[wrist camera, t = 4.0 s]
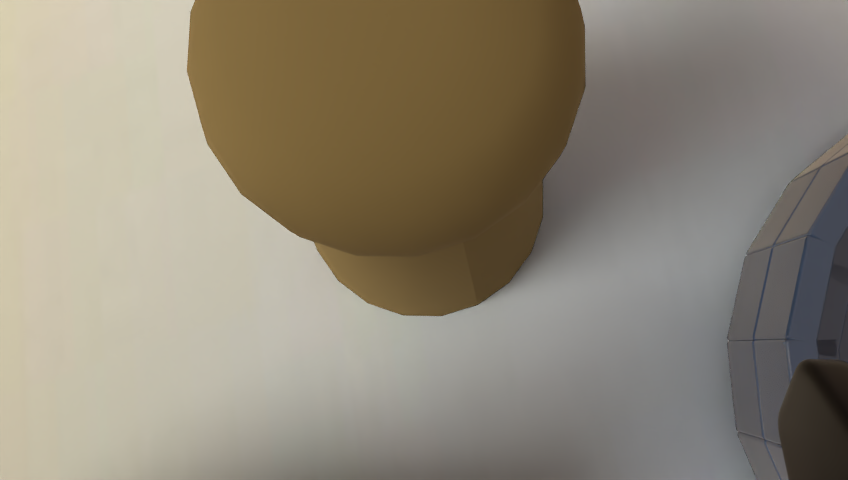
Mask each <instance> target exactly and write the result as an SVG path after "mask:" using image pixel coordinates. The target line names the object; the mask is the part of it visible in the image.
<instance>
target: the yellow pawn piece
mask: <svg viewBox="0 0 848 480" xmlns="http://www.w3.org/2000/svg"><path fill="white" fill-rule="evenodd" d="M187 72H188V76H189V80H190V84H191V87H192V91H193V95H194V98H195V102H196V106H197V109H198V113H199V117H200V121H201V124H202V128H203V131H204V134H205V138H206V141H207V144H208V146H209V147H210V149H211V150H212V151H213V153H214V154H215V156H216V157H217V159H218V160H219V162H220V163H221V165H222V166H223V168H224V169H225V171H226V172H227V174H228V175H229V177H230V178H231V180H232V181H233V183H234V184H235V186H236V187H237V189H238V190H239V191H240V193H241V194H242V195H243V196H245V197H246V198H247V199H248V200H250V201H251V202H252V203H254V204H255V205H256V206H258V207H259V208H260V209H262V210H263V211H264V212H266V213H267V214H268V215H270V216H271V217H272V218H274V219H275V220H276V221H277V222H279V223H280V224H281V225H283V226H284V227H285V228H287V229H288V230H289V231H291V232H293V233H294V234H296V235H298V236H299V237H302V238H305V239H307V240H310V241H313V242H314V243H315V245H316V248H317V250H318V252H319V253H320V255H321V256H322V258H323V259H324V261H325V262H326V263H327V265H328V266H329V268H330V269H331V271H332V272H333V274H334V275H335V277H336V278H337V280H338V281H339V282H341V283H342V284H343V285H345V286H346V287H347V288H349V289H350V290H351V291H353V292H354V293H355V294H357V295H358V296H359V297H360V298H362V299H363V300H364V301H366V302H367V303H369V304H372V305H375V306H378V307H381V308H384V309H387V310H389V311H392V312H395V313H398V314H401V315H415V316H443V315H446V314H449V313H452V312H456V311H459V310H462V309H465V308H468V307H472V306H475V305H478V304H479V303H481V302H482V301H484V300H485V299H486V298H488V297H489V296H491V295H492V294H493V293H495V292H496V291H498V290H499V289H501V288H502V287H503V286H505V285H506V284H508V283H509V282H510V280H511V279H512V278H513V276H514V275H515V274H516V272H517V271H518V270H519V268H520V267H521V265H522V264H523V263H524V261H525V260H526V259H527V257H528V256H529V255H530V253H531V251H532V248H533V245H534V242H535V239H536V236H537V233H538V230H539V227H540V224H541V221H542V218H543V178H544V177H545V176H546V174H547V173H548V172H549V170H550V169H551V167H552V166H553V165H554V163H555V162H556V161H557V159H558V158H559V157H560V155H561V153H562V152H563V150H564V148H565V146H566V144H567V141H568V138H569V135H570V132H571V129H572V126H573V123H574V120H575V117H576V114H577V111H578V108H579V105H580V102H581V99H582V96H583V93H584V90H585V25H584V21H583V16H582V12H581V8H580V5H579V2H578V0H195V2H194V5H193V7H192V10H191V15H190V31H189V47H188V63H187Z"/></svg>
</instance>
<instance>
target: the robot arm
mask: <svg viewBox="0 0 848 480" xmlns="http://www.w3.org/2000/svg"><path fill="white" fill-rule="evenodd" d="M778 432H779V437H780V442H781V446H782V451H783V455H784V460H785V465H786V469H787V474H788V478H789V480H848V363H847V362H845V361H842V360H829V359H807V360H803V361H802V362H800V363H799V364H798V366H797V368H796V369H795V372H794V374H793V377H792V380H791V382H790V385H789V387H788V390H787V392H786V395H785V398H784V400H783V403H782V405H781V408H780V411H779V416H778Z"/></svg>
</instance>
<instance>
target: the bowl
mask: <svg viewBox="0 0 848 480" xmlns="http://www.w3.org/2000/svg"><path fill="white" fill-rule="evenodd" d="M746 255H747V256H746V257H745V259H744V263H743V268H742V272H741V277H740V282H739V286H738V291H737V295H736V300H735V305H734V309H733V314H732V318H731V323H730V327H729V332H728V337H727V339H728V343H727V347H728V357H729V366H730V376H731V385H732V395H733V404H734V414H735V423H736V429H737V431H739V432H738V437H739V439H740V442H741V444H742V446H743V449H744V451H745V453H746V456H747V458H748V460H749V462H750V465H751V467H752V469H753V472H754V474H755V476H756V479H757V480H789V478H788V474H787V469H786V465H785V460H784V455H783V451H782V446H781V442H780V437H779V432H778V416H779V411H780V408H781V405H782V403H783V400H784V398H785V395H786V392H787V390H788V387H789V385H790V382H791V380H792V377H793V374H794V372H795V369H796V368H797V366H798V364H799V363H800V362H802V361H803V360H807V359H829V360H842V361H845V362H847V363H848V134H847V135H846V136H845V137H844V138H842V139H841V140H840V141H839V142H838V143H836V144H835V145H834V146H833V147H831V148H830V149H829V150H828V151H827V152H825V153H824V154H823V155H822V156H821V157H819V158H818V159H817V160H816V161H815V162H813V163H812V164H811V165H810V166H808V167H807V168H806V169H805V170H804V171H802V172H801V173H800V174H799V175H798V176H796V177H795V178H794V179H793V180H792V181H791V183H789V184H788V186H787V187H786V189H785V190H784V192H783V194H782V195H781V197H780V199H779V200H778V202H777V204H776V205H775V207H774V209H773V210H772V212H771V213H770V215H769V217H768V218H767V220H766V222H765V223H764V225H763V227H762V228H761V230H760V231H759V233H758V235H757V236H756V238H755V240H754V241H753V243H752V245H751V246H750V248H749V250H748V251H747V254H746Z"/></svg>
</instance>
